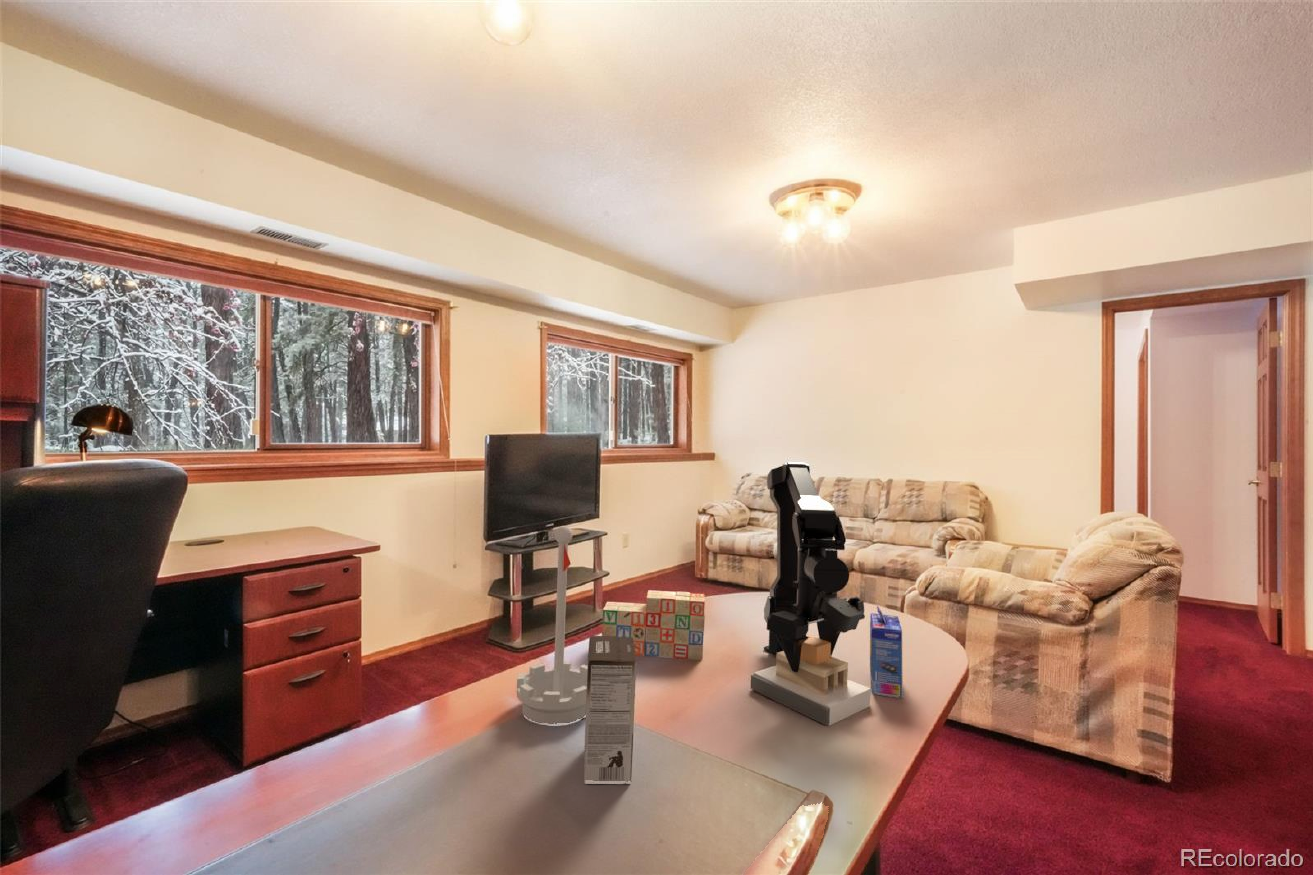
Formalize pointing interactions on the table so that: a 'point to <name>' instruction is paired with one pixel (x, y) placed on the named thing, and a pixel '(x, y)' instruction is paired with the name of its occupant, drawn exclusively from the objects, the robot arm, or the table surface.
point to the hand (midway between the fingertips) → (811, 666)
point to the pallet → (814, 674)
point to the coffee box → (610, 708)
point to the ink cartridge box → (886, 655)
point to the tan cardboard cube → (815, 650)
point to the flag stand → (555, 664)
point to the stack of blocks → (660, 624)
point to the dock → (812, 697)
